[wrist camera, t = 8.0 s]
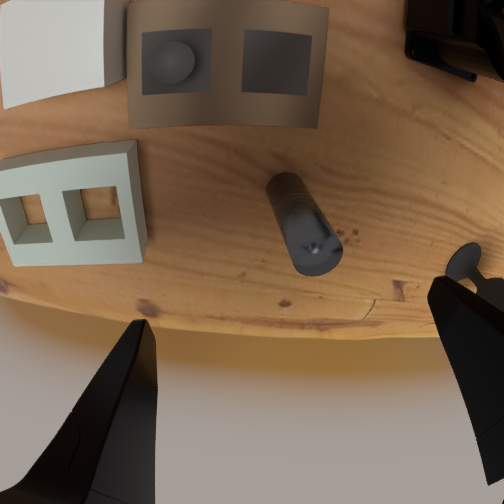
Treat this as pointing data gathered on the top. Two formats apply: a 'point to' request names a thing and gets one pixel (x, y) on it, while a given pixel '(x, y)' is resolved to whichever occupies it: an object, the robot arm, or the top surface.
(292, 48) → the board
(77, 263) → the board
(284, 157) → the top surface
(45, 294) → the top surface
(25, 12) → the white rectangular block
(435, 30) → the robot arm
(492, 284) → the sundae
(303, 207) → the peg
